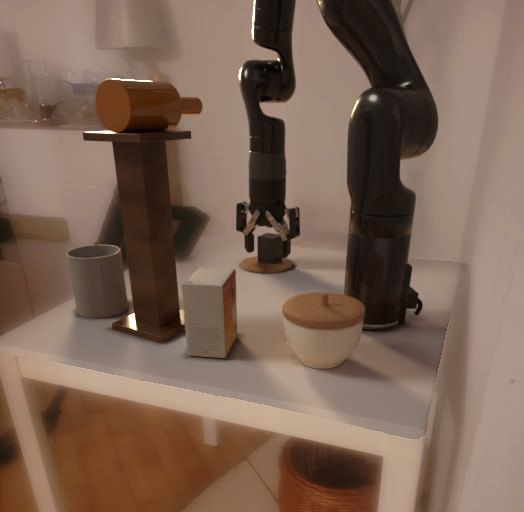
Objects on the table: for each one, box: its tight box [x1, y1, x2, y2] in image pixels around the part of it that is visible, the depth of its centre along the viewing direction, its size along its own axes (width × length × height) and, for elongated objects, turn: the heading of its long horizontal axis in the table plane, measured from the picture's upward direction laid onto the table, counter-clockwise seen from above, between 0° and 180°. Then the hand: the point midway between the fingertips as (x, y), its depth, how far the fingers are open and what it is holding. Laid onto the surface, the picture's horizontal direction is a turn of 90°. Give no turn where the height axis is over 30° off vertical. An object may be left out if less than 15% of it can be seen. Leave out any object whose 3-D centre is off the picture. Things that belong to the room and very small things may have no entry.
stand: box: [82, 129, 192, 344], centre depth 71 cm, size 10×10×28 cm
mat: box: [241, 255, 293, 274], centre depth 106 cm, size 11×11×1 cm
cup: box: [65, 244, 129, 319], centre depth 81 cm, size 8×8×10 cm
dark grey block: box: [256, 232, 282, 264], centre depth 106 cm, size 6×4×4 cm
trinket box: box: [281, 291, 365, 370], centre depth 65 cm, size 11×11×9 cm
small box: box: [181, 266, 238, 359], centre depth 68 cm, size 8×6×10 cm
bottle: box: [94, 78, 204, 133], centre depth 67 cm, size 17×6×6 cm, turn 149°
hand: (267, 254), depth 105 cm, fingers open, 8 cm apart
